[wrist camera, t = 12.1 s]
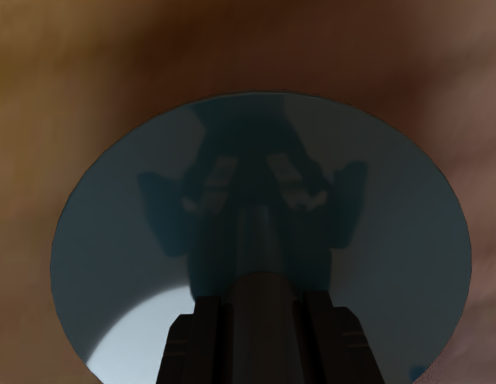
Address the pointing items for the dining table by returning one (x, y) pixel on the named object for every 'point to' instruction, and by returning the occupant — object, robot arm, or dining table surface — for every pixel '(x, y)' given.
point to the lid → (260, 239)
